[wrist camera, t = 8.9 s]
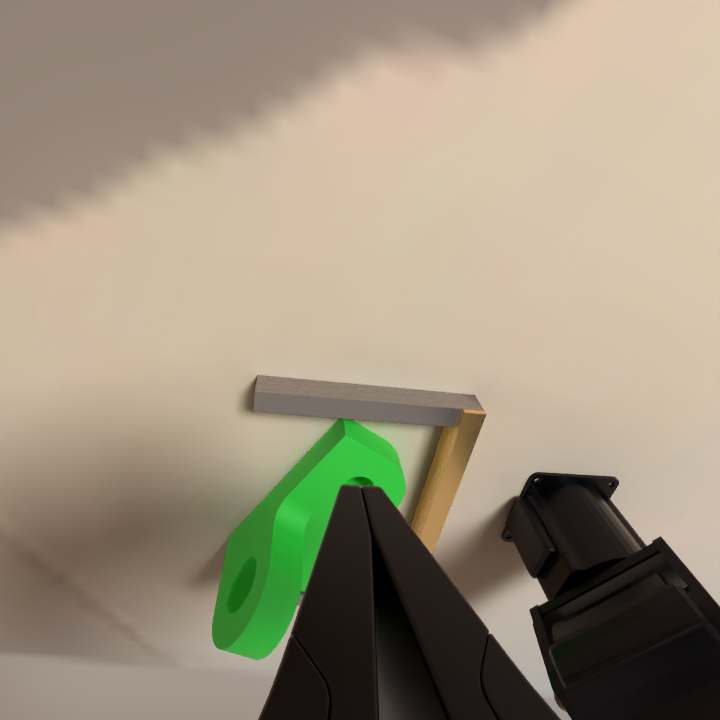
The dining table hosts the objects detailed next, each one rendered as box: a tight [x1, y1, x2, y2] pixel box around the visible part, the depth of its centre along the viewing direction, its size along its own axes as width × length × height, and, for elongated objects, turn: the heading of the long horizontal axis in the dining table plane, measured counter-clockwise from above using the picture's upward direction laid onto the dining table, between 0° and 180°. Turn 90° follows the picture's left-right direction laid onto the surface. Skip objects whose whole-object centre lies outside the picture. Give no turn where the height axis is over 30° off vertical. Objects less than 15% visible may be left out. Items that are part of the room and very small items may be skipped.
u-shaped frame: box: [253, 375, 486, 605], centre depth 26 cm, size 12×17×2 cm
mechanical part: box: [212, 418, 405, 660], centre depth 24 cm, size 12×6×8 cm, turn 141°
